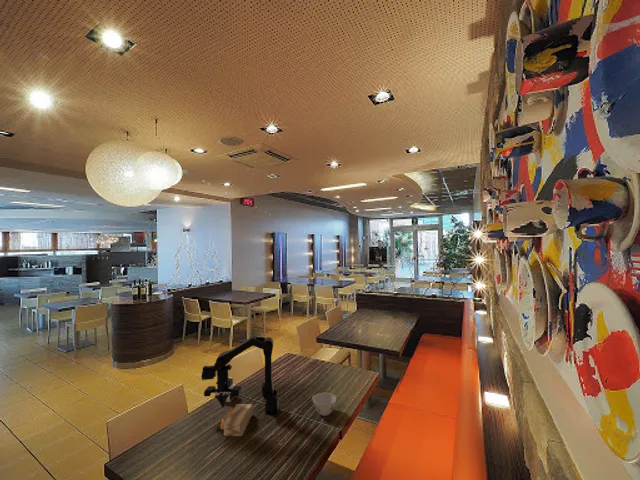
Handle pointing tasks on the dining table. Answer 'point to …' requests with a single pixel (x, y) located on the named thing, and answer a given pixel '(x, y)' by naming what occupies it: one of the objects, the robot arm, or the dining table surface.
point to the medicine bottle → (230, 394)
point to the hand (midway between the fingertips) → (223, 407)
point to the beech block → (238, 420)
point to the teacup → (324, 403)
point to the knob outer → (222, 424)
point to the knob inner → (229, 411)
